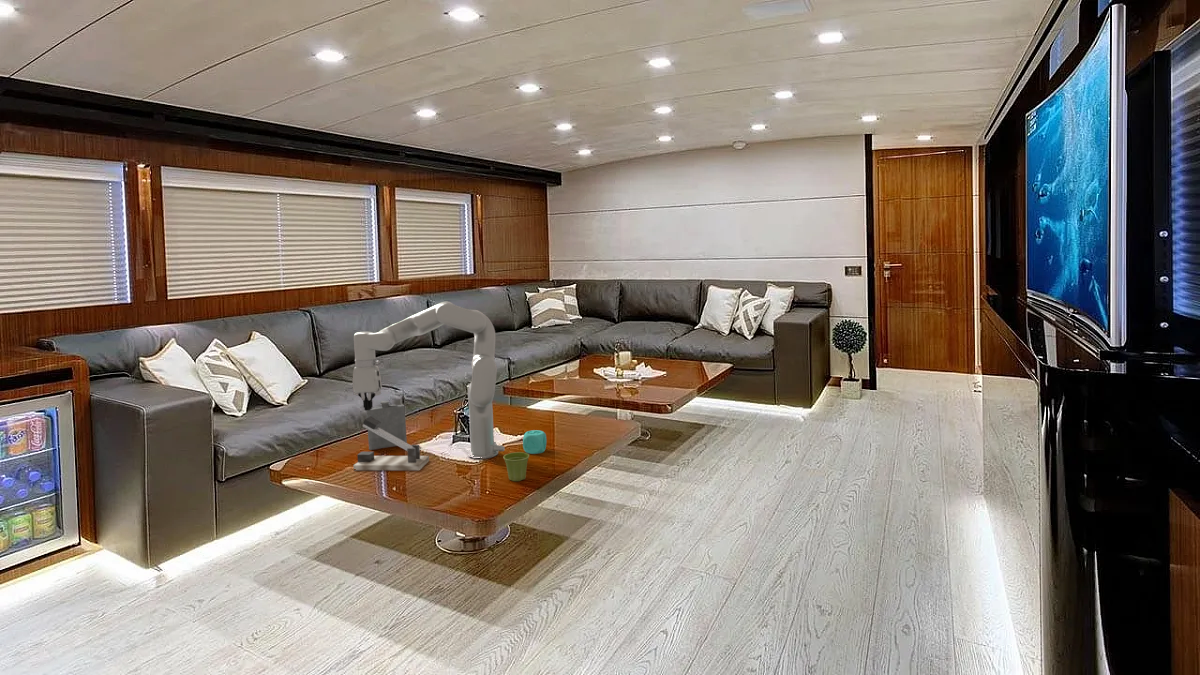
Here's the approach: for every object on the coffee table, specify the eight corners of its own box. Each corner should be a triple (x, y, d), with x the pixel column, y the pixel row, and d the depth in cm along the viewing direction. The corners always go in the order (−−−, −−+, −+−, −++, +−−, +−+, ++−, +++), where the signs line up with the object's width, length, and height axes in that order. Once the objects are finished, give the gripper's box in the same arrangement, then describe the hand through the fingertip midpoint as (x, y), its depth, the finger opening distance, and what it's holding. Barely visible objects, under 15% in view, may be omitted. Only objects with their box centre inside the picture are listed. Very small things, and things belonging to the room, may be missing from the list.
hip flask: (369, 450, 284) (366, 404, 282) (368, 447, 288) (365, 402, 285) (407, 444, 291) (404, 400, 289) (405, 442, 295) (403, 398, 292)
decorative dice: (541, 454, 273) (541, 435, 272) (523, 453, 275) (522, 434, 274) (546, 448, 281) (546, 430, 280) (528, 448, 283) (528, 429, 282)
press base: (429, 460, 268) (428, 442, 267) (419, 470, 256) (418, 451, 255) (366, 460, 270) (365, 442, 269) (353, 470, 258) (352, 451, 257)
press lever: (414, 450, 264) (418, 443, 264) (410, 454, 259) (414, 446, 259) (366, 423, 264) (370, 416, 264) (361, 426, 259) (365, 419, 259)
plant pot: (529, 482, 240) (528, 459, 239) (503, 483, 239) (502, 460, 238) (530, 474, 249) (529, 451, 248) (505, 475, 249) (504, 452, 247)
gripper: (388, 361, 261) (390, 407, 264) (351, 361, 262) (353, 407, 265) (380, 365, 254) (383, 412, 256) (342, 365, 255) (345, 411, 257)
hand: (368, 409), depth 260 cm, fingers closed
